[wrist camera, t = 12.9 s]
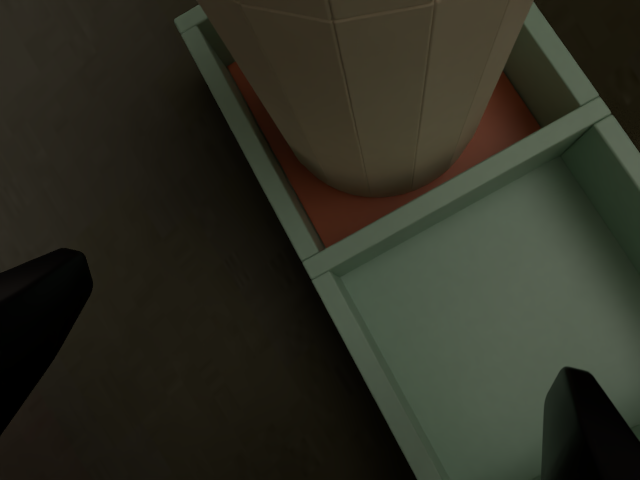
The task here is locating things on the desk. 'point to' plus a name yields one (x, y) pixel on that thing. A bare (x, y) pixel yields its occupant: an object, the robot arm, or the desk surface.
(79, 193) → the desk surface
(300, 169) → the divided box
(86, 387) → the desk surface
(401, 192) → the jar
